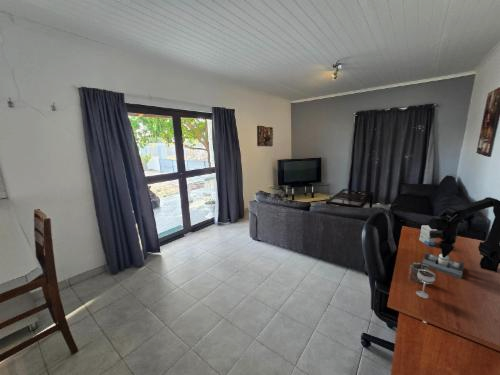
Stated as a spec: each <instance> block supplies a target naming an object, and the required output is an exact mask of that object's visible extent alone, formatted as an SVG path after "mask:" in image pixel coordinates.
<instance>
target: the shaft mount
mask: <svg viewBox="0 0 500 375" xmlns="http://www.w3.org/2000/svg"><path fill="white" fill-rule="evenodd" d="M438 259H439V256H436V255H433V254H431V253H430V252H428V251H426V252H425V254H424V257H423V260H422V263H421V264H425V265H428V268H427V269H432V270H434V271H438V272H439V273H440V272H441V273H443V274H445V275H449V276H452V277H454V278H458V279H460V280H461V279H462V277H463V272H464V267H465V263H464V262H462V261H460V262H456V261H452V260H450V259H449V262H448V266H447V267H444V266H441V265H438V264H437V263H438Z"/></svg>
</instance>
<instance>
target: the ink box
mask: <svg viewBox="0 0 500 375" xmlns="http://www.w3.org/2000/svg"><path fill="white" fill-rule="evenodd" d="M430 231H437V229H431V228H430V227H429V224H428V225H425V224H424V225H421V228H420V234H419V239H418V240H419V241H420V242H421V243H423V244H425V245H427V246H436V240H437V238H430V236H429V235H430V234H429V232H430Z"/></svg>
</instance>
